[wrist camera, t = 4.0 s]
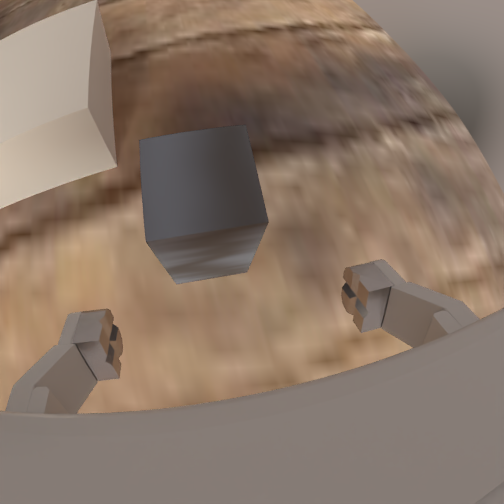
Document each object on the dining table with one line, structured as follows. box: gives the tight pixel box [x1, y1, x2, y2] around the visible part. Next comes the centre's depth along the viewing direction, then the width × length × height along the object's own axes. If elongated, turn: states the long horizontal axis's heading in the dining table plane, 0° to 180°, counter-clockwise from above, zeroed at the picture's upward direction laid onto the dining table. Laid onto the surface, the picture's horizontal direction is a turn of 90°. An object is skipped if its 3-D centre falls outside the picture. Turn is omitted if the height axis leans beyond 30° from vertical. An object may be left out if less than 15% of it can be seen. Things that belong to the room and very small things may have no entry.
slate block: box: [139, 125, 268, 284], centre depth 18 cm, size 5×5×10 cm
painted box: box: [0, 0, 117, 209], centre depth 21 cm, size 16×16×8 cm
